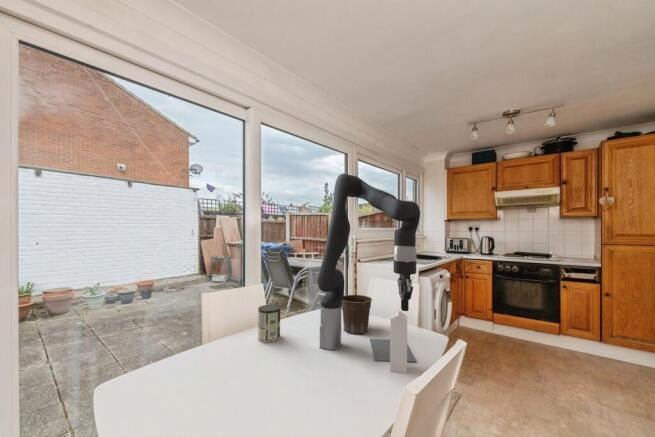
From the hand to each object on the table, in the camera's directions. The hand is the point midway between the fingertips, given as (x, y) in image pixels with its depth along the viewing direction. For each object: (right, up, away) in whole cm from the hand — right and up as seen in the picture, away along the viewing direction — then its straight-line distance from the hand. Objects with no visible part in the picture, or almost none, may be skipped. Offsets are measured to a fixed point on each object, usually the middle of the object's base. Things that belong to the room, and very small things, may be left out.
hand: (404, 310), depth 96 cm
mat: (+1, -25, +25) cm, 35 cm away
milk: (0, -25, +9) cm, 26 cm away
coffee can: (-54, -25, +36) cm, 69 cm away
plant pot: (-12, -26, +48) cm, 56 cm away
